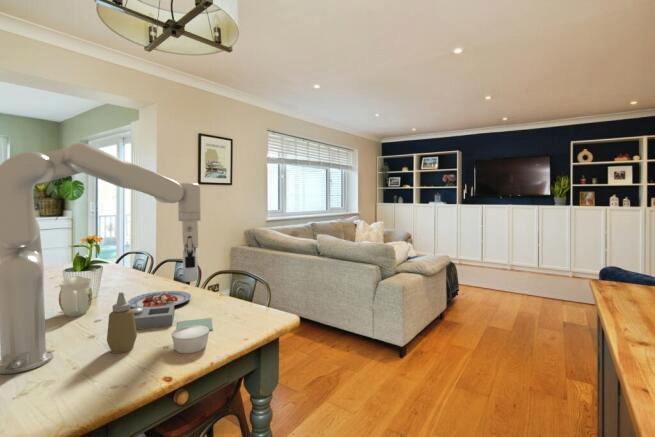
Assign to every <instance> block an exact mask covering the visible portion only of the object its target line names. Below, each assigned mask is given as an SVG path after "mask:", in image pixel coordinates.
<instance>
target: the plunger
mask: <svg viewBox="0 0 655 437" xmlns="http://www.w3.org/2000/svg"><path fill="white" fill-rule="evenodd" d="M131 309H132V310H133V311H134V315H135V314H140V313H141V312H143V308H134V307H133V308H131Z"/></svg>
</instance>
